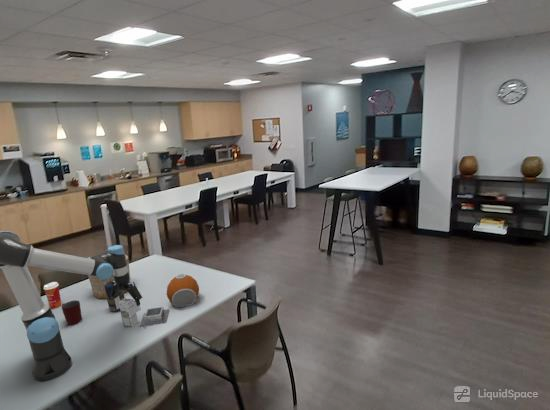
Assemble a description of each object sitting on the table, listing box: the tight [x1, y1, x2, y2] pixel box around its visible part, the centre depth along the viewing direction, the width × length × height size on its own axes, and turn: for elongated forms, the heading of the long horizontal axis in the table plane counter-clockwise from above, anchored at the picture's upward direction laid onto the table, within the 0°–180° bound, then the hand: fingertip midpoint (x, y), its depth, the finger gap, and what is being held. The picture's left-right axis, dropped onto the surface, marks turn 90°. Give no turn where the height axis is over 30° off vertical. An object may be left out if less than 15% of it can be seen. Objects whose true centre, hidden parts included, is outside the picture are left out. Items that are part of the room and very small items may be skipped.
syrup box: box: [119, 297, 139, 328], centre depth 190 cm, size 6×6×14 cm
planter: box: [87, 254, 132, 299], centre depth 232 cm, size 26×26×22 cm
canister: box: [104, 280, 126, 312], centre depth 208 cm, size 10×10×18 cm
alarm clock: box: [166, 273, 200, 308], centre depth 210 cm, size 19×18×17 cm
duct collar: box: [139, 306, 170, 328], centre depth 195 cm, size 14×14×4 cm
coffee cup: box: [43, 281, 62, 310], centre depth 218 cm, size 8×8×15 cm
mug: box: [61, 300, 83, 326], centre depth 199 cm, size 12×9×11 cm
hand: (128, 309), depth 190 cm, fingers open, 13 cm apart
